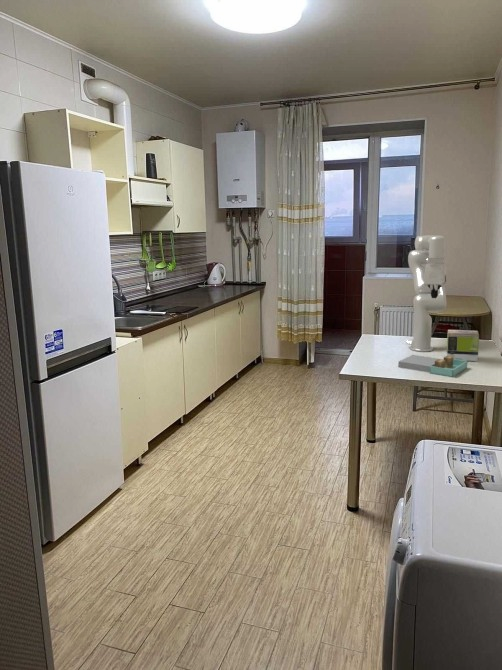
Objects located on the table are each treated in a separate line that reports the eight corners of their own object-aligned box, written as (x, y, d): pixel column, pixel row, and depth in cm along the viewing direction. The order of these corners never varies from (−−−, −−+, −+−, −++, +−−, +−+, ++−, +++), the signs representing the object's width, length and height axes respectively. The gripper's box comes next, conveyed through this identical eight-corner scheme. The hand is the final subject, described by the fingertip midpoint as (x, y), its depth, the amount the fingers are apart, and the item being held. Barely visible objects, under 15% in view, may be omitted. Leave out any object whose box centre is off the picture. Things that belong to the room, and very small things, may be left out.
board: (398, 367, 258) (398, 361, 257) (412, 360, 271) (412, 354, 270) (429, 372, 248) (430, 366, 247) (442, 365, 260) (443, 359, 260)
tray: (429, 373, 246) (429, 366, 246) (444, 364, 261) (445, 357, 260) (452, 377, 239) (453, 369, 239) (467, 368, 254) (467, 361, 253)
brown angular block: (443, 357, 253) (449, 358, 251) (447, 355, 257) (453, 356, 255) (443, 367, 254) (449, 368, 252) (446, 365, 258) (452, 366, 256)
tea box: (476, 357, 274) (478, 330, 272) (477, 362, 265) (479, 333, 262) (446, 355, 279) (447, 328, 276) (446, 360, 270) (448, 332, 267)
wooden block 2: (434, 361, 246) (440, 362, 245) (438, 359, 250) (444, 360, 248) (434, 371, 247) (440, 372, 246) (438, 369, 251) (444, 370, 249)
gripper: (418, 261, 260) (417, 297, 264) (448, 262, 251) (446, 299, 255) (424, 260, 266) (422, 296, 270) (454, 261, 256) (451, 298, 260)
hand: (434, 297), depth 262 cm, fingers closed
